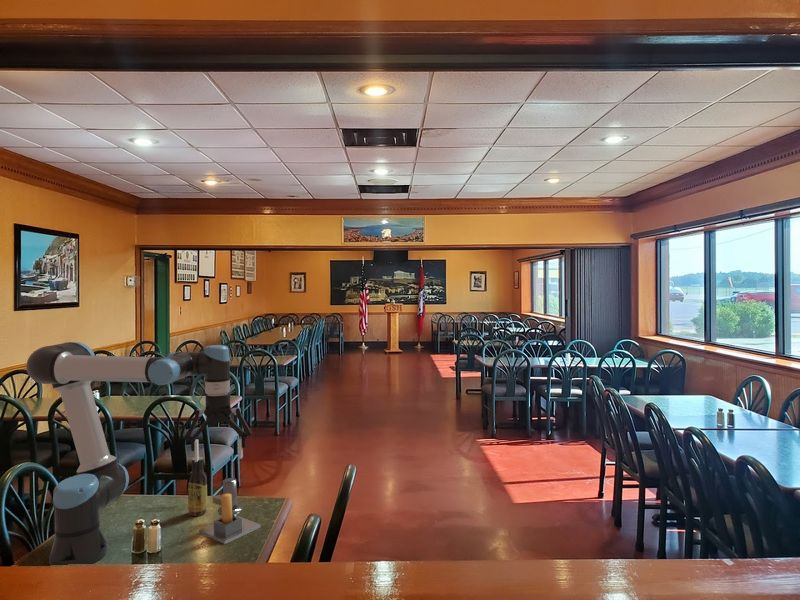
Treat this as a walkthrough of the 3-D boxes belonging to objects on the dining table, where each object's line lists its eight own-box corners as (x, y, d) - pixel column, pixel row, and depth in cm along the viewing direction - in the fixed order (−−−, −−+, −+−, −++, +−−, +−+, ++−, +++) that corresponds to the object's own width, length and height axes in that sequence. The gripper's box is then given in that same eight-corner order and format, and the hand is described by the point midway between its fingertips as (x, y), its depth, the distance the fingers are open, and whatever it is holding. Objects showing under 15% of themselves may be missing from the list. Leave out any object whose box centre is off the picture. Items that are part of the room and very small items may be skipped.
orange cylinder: (220, 532, 177) (219, 495, 176) (228, 528, 179) (227, 492, 179) (226, 535, 175) (225, 498, 174) (234, 531, 177) (233, 494, 177)
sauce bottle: (184, 516, 193) (182, 460, 192) (196, 508, 199) (194, 454, 198) (200, 518, 191) (198, 461, 190) (211, 510, 197) (209, 456, 196)
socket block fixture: (190, 529, 182) (188, 484, 182) (226, 514, 193) (224, 472, 193) (224, 544, 171) (223, 496, 170) (260, 527, 182) (259, 482, 182)
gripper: (174, 397, 169) (175, 465, 170) (256, 394, 174) (258, 460, 175) (179, 393, 177) (180, 458, 177) (258, 389, 181) (259, 453, 182)
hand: (219, 459), depth 176 cm, fingers open, 13 cm apart
